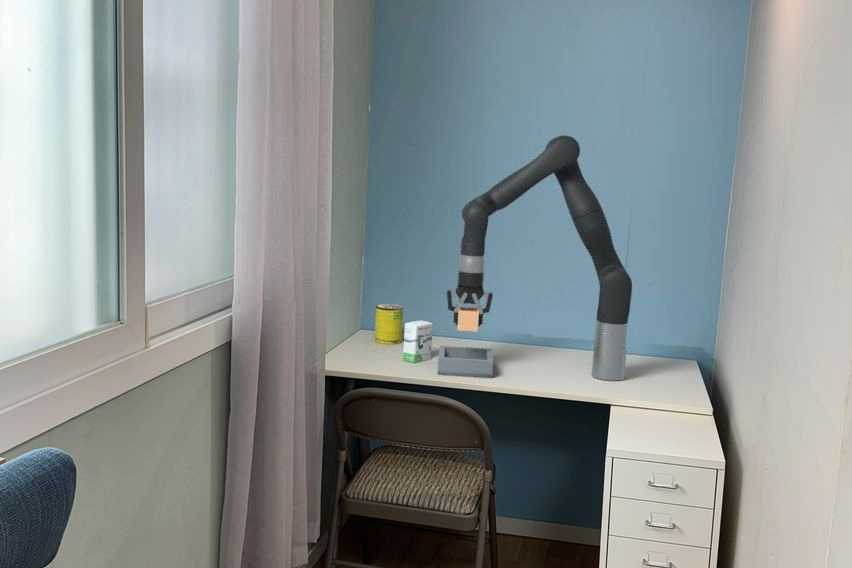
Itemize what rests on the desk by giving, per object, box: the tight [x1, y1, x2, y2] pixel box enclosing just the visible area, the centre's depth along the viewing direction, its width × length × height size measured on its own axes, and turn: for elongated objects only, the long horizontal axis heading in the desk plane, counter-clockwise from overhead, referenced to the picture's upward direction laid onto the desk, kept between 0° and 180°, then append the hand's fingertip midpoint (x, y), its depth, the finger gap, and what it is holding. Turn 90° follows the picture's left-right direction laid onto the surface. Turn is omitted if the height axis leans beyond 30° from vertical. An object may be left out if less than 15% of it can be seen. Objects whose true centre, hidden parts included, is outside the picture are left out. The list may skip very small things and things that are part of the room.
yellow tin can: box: [374, 303, 404, 346], centre depth 300 cm, size 9×9×12 cm
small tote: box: [457, 306, 479, 333], centre depth 268 cm, size 6×6×6 cm
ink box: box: [402, 319, 434, 364], centre depth 278 cm, size 9×5×12 cm, turn 142°
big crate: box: [437, 345, 494, 379], centre depth 270 cm, size 16×16×5 cm
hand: (467, 324), depth 268 cm, fingers closed on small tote, 6 cm apart
